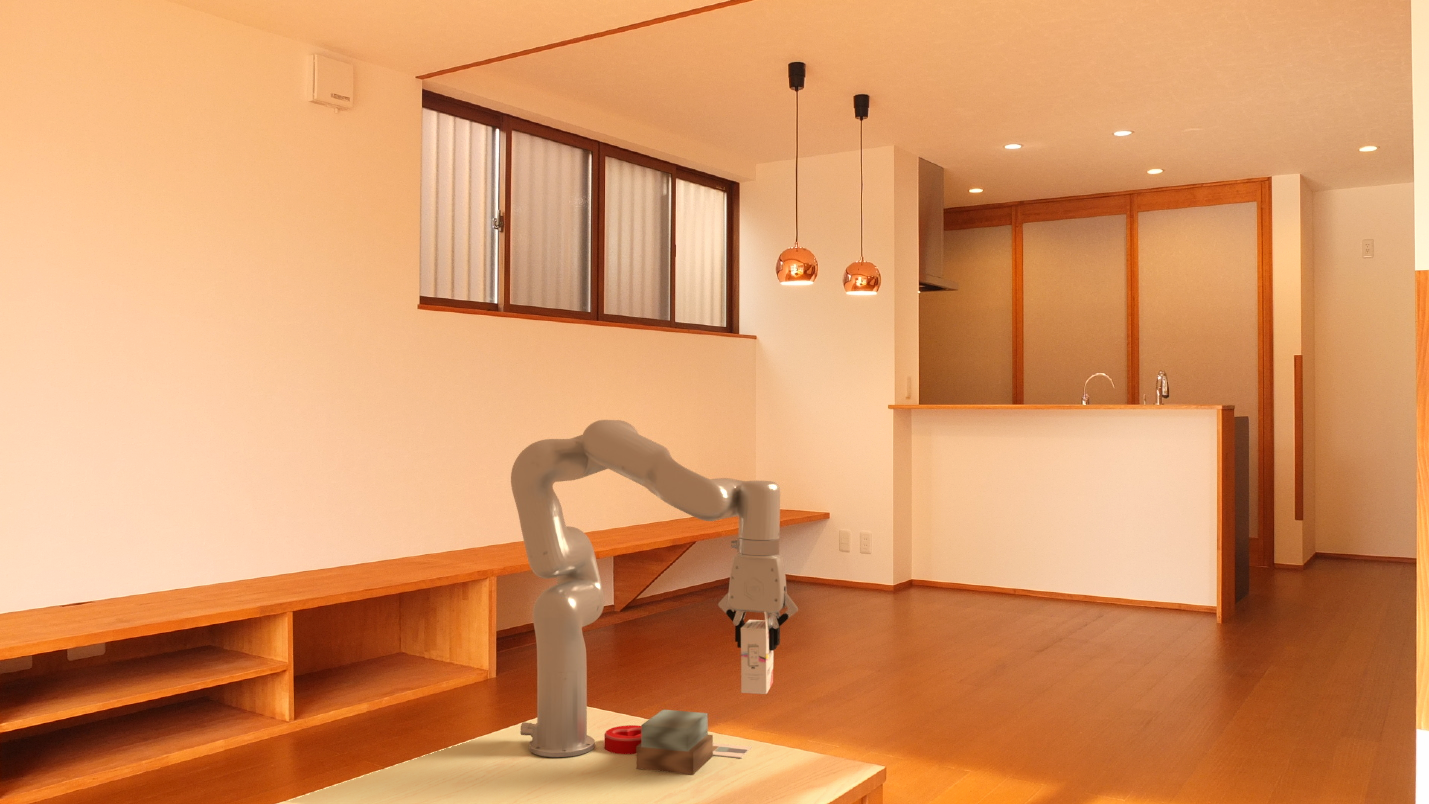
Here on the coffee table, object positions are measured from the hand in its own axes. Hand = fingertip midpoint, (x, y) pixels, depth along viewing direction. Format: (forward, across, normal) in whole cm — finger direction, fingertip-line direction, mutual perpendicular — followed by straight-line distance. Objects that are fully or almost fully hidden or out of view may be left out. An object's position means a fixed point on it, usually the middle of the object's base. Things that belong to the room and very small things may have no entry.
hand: (757, 646), depth 189 cm
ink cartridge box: (+8, 0, 0) cm, 8 cm away
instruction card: (+22, -9, +8) cm, 25 cm away
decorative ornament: (+23, -27, +5) cm, 36 cm away
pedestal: (+22, -15, -2) cm, 27 cm away
